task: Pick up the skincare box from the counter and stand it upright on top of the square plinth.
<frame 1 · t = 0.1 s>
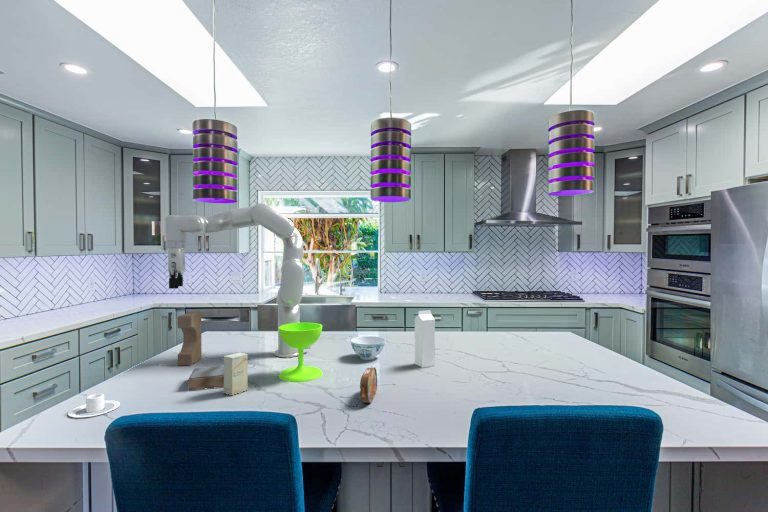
hand: (176, 287, 155), 31 cm above the worktop, tool pointing down, fingers open, 9 cm apart
decorative block: (190, 362, 157), on the worktop
wineglass: (300, 375, 141), on the worktop
tin: (368, 398, 119), on the worktop
skincare box: (235, 392, 123), on the worktop
candle holder: (94, 411, 110), on the worktop
plinth: (210, 382, 132), on the worktop
milk: (424, 365, 153), on the worktop
chinaware: (368, 358, 164), on the worktop
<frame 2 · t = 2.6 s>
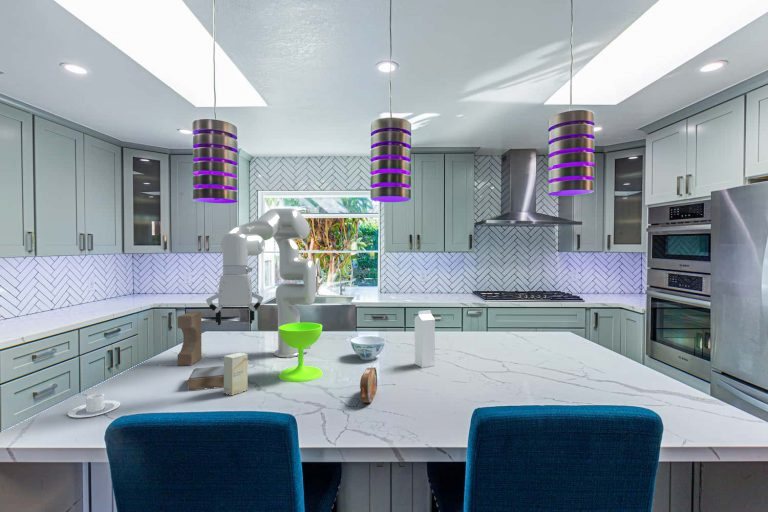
hand: (235, 323, 123), 22 cm above the worktop, tool pointing down, fingers open, 9 cm apart
nothing on the worktop moved.
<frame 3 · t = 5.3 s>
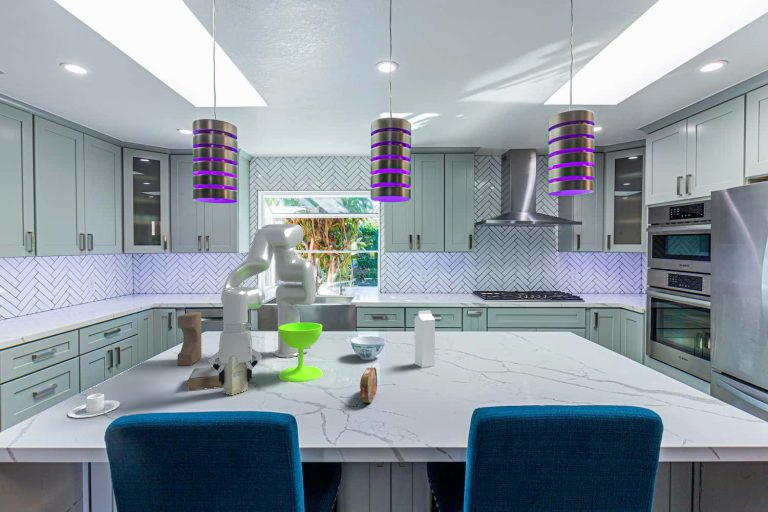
hand: (235, 381, 123), 3 cm above the worktop, tool pointing down, fingers closed on skincare box, 7 cm apart
skincare box: (235, 392, 123), on the worktop, touching gripper
everything else where it was.
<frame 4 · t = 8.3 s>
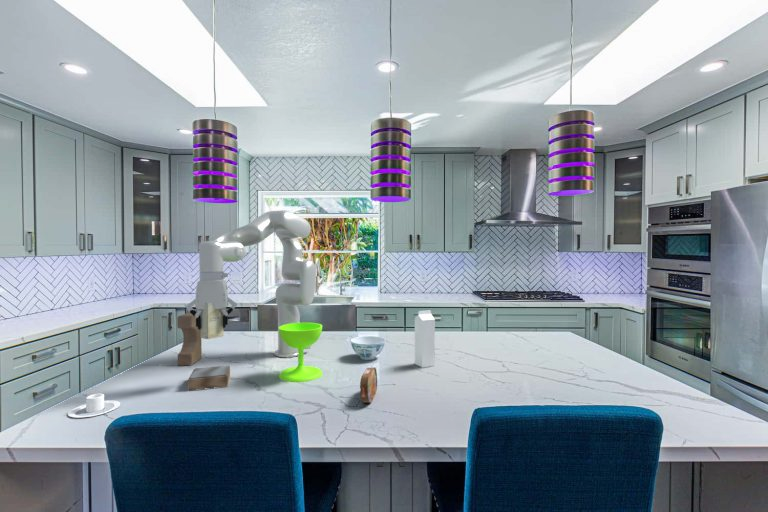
hand: (212, 327, 131), 19 cm above the worktop, tool pointing down, fingers closed on skincare box, 7 cm apart
skincare box: (212, 337, 131), point 16 cm above the worktop, touching gripper
everything else where it was.
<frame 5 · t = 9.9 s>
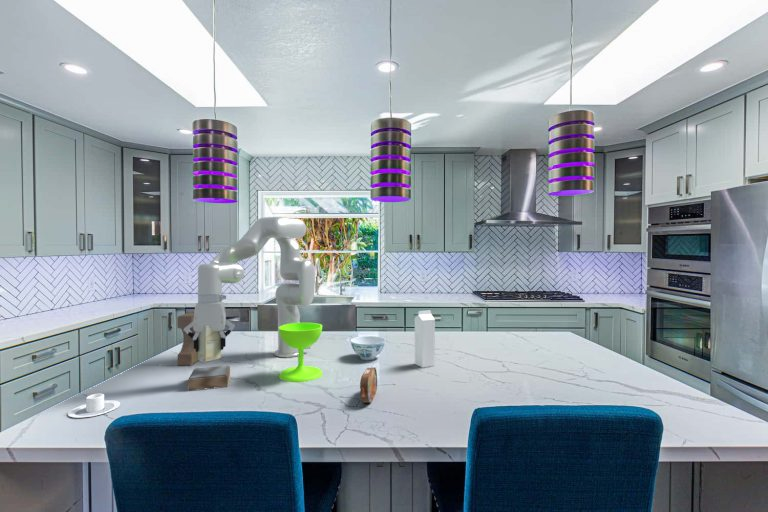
hand: (209, 349, 132), 12 cm above the worktop, tool pointing down, fingers closed on skincare box, 7 cm apart
skincare box: (209, 359, 132), point 8 cm above the worktop, touching gripper
everything else where it was.
when the fingers open (9 cm above the worktop, at t = 11.5 s): skincare box drops 1 cm, resting on plinth.
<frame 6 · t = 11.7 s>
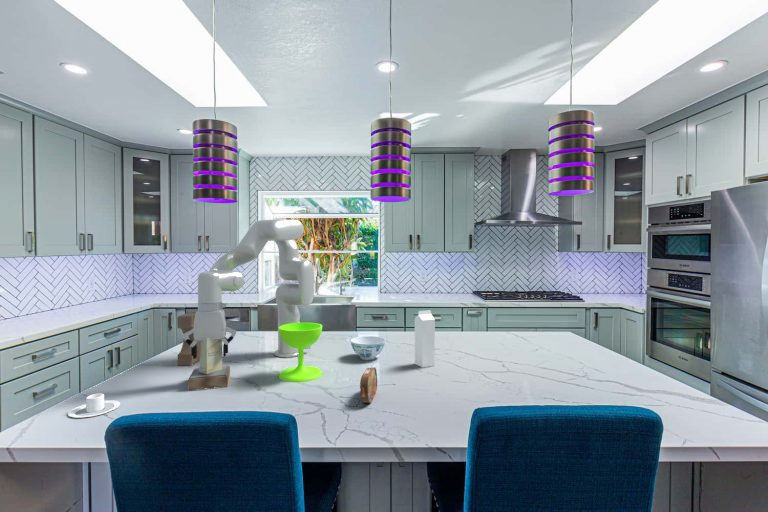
hand: (210, 356, 132), 9 cm above the worktop, tool pointing down, fingers open, 9 cm apart
skincare box: (210, 371, 132), point 4 cm above the worktop, touching plinth
everything else where it was.
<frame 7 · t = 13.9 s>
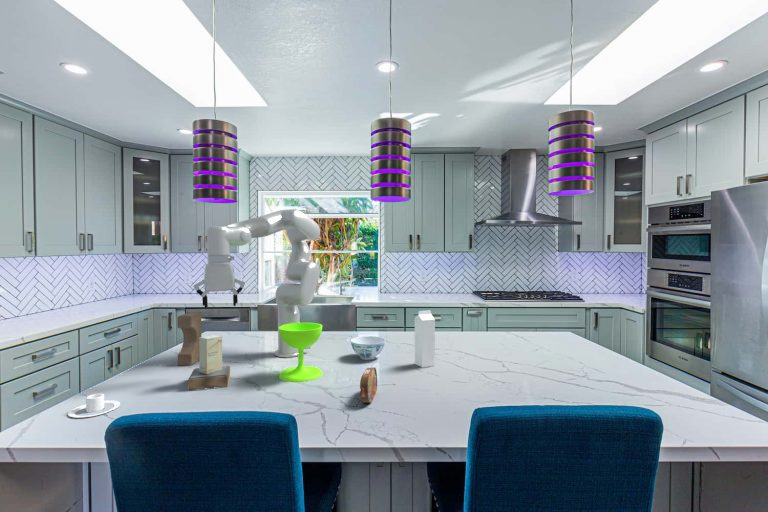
hand: (220, 306, 139), 26 cm above the worktop, tool pointing down, fingers open, 9 cm apart
nothing on the worktop moved.
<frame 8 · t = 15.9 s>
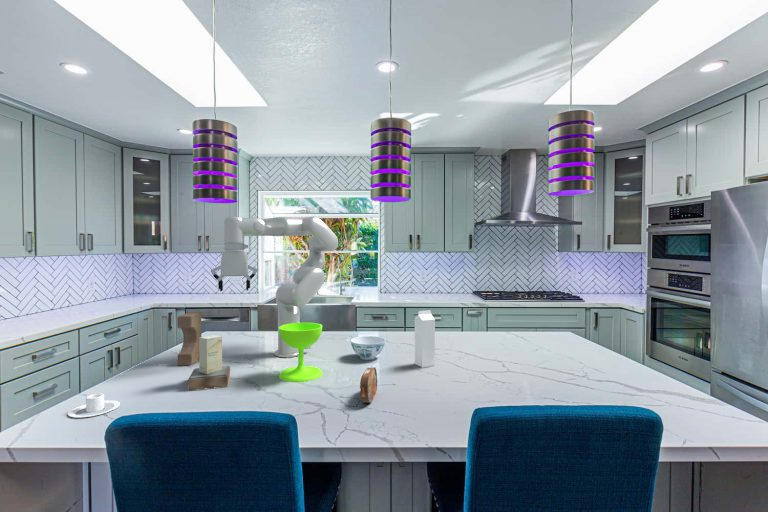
hand: (234, 290, 151), 30 cm above the worktop, tool pointing down, fingers open, 9 cm apart
nothing on the worktop moved.
at the end: skincare box inside the target area on the plinth (0.2 cm from its centre), point 3.8 cm above the plinth's base; skincare box tilted 0°; the gripper is holding nothing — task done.
